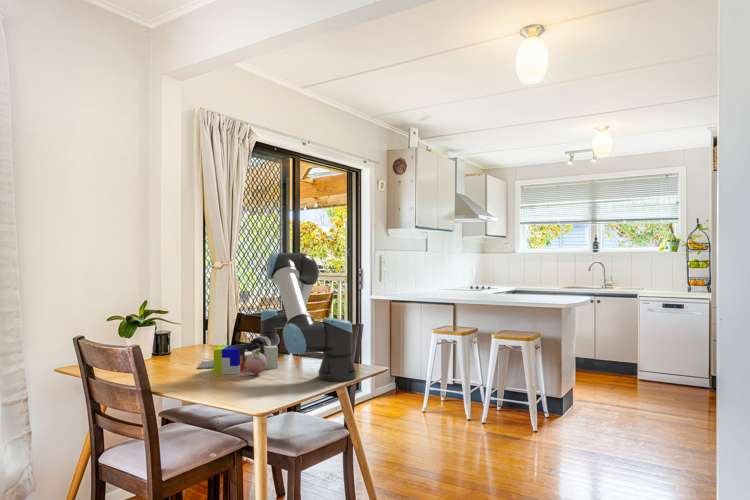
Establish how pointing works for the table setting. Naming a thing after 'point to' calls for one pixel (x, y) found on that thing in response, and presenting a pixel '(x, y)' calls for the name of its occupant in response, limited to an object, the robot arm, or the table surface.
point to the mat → (206, 365)
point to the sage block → (271, 356)
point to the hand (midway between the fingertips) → (238, 353)
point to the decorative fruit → (256, 362)
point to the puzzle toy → (229, 359)
